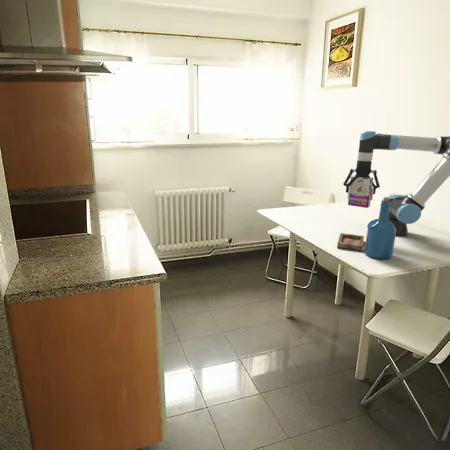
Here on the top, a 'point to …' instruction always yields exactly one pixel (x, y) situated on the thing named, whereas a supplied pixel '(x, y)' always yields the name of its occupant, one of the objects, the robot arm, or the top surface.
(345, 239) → the tray
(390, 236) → the wine bottle
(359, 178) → the candy bar box
